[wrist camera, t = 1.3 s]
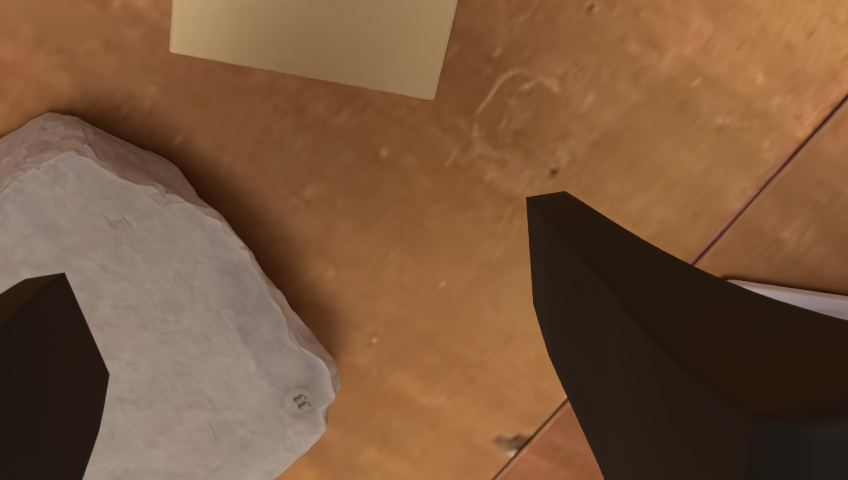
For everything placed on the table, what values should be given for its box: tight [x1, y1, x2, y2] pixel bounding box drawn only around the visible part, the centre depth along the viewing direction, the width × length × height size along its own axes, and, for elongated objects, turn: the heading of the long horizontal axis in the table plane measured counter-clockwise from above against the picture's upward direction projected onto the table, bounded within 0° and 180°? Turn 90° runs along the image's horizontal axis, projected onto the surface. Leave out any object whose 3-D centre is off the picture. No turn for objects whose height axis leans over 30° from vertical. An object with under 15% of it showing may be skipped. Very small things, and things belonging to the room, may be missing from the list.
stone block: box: [0, 112, 340, 480], centre depth 21 cm, size 12×5×10 cm
